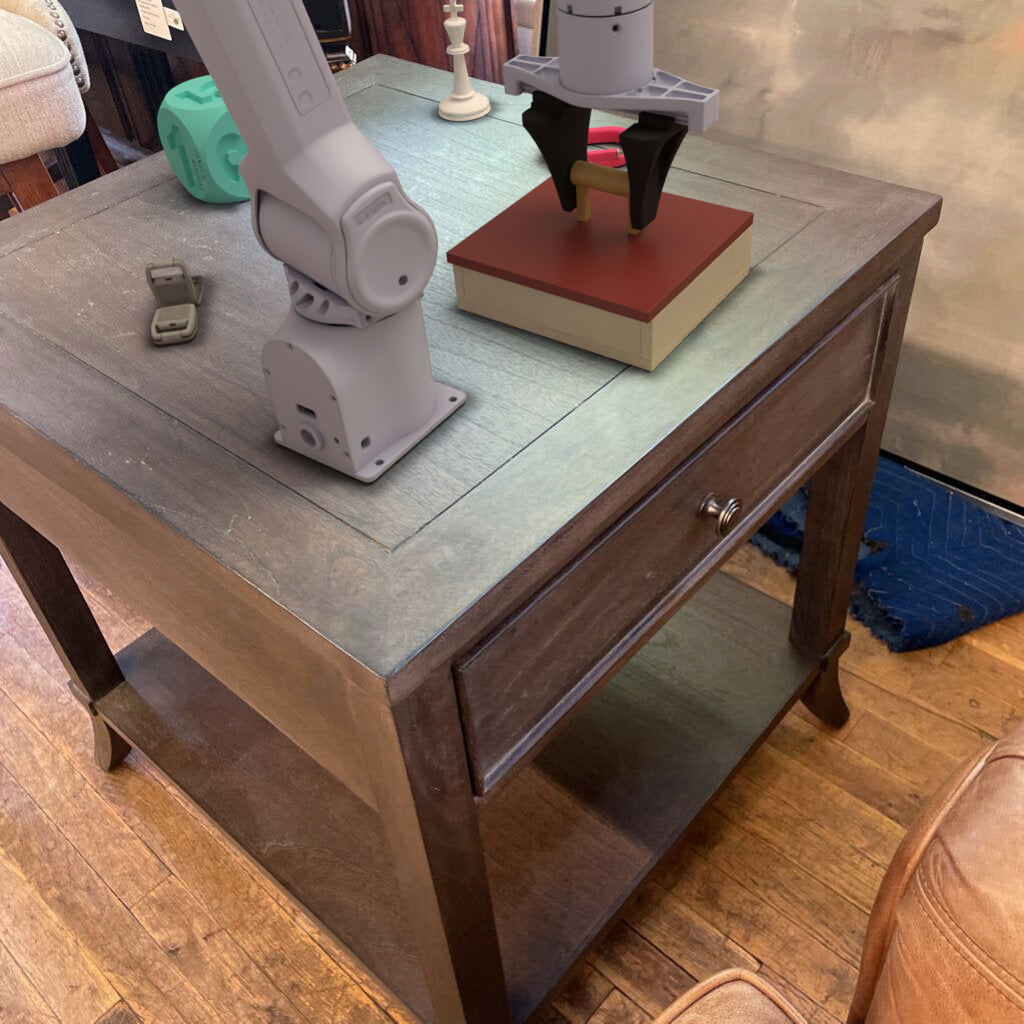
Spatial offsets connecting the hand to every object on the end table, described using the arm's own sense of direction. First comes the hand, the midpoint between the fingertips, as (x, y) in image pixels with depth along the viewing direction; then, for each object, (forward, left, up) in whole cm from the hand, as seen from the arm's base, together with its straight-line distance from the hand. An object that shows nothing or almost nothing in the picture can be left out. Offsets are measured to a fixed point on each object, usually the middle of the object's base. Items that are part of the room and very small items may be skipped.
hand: (609, 214), depth 72 cm
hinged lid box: (-1, 0, -6) cm, 6 cm away
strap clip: (-18, +26, -6) cm, 32 cm away
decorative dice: (-1, +38, -6) cm, 38 cm away
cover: (-1, 0, -2) cm, 2 cm away
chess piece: (+20, +29, -6) cm, 35 cm away
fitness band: (+17, +13, -6) cm, 22 cm away
